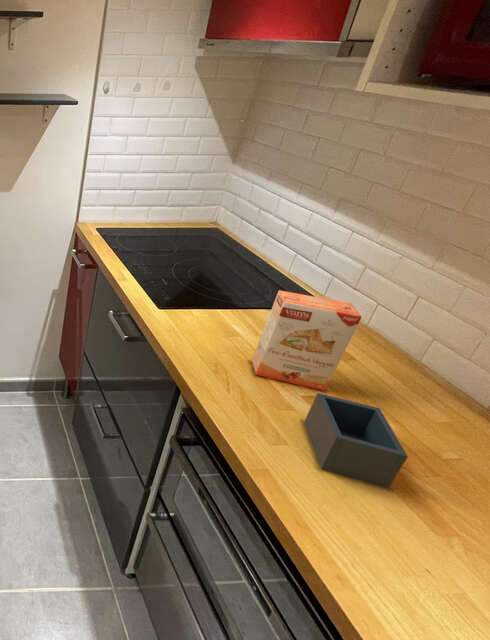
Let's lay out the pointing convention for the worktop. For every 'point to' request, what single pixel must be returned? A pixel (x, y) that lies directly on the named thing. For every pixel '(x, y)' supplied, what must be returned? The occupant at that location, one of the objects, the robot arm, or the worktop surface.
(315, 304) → the cracker box
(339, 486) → the worktop surface
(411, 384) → the worktop surface
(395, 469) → the grey open box
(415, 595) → the worktop surface
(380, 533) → the worktop surface
